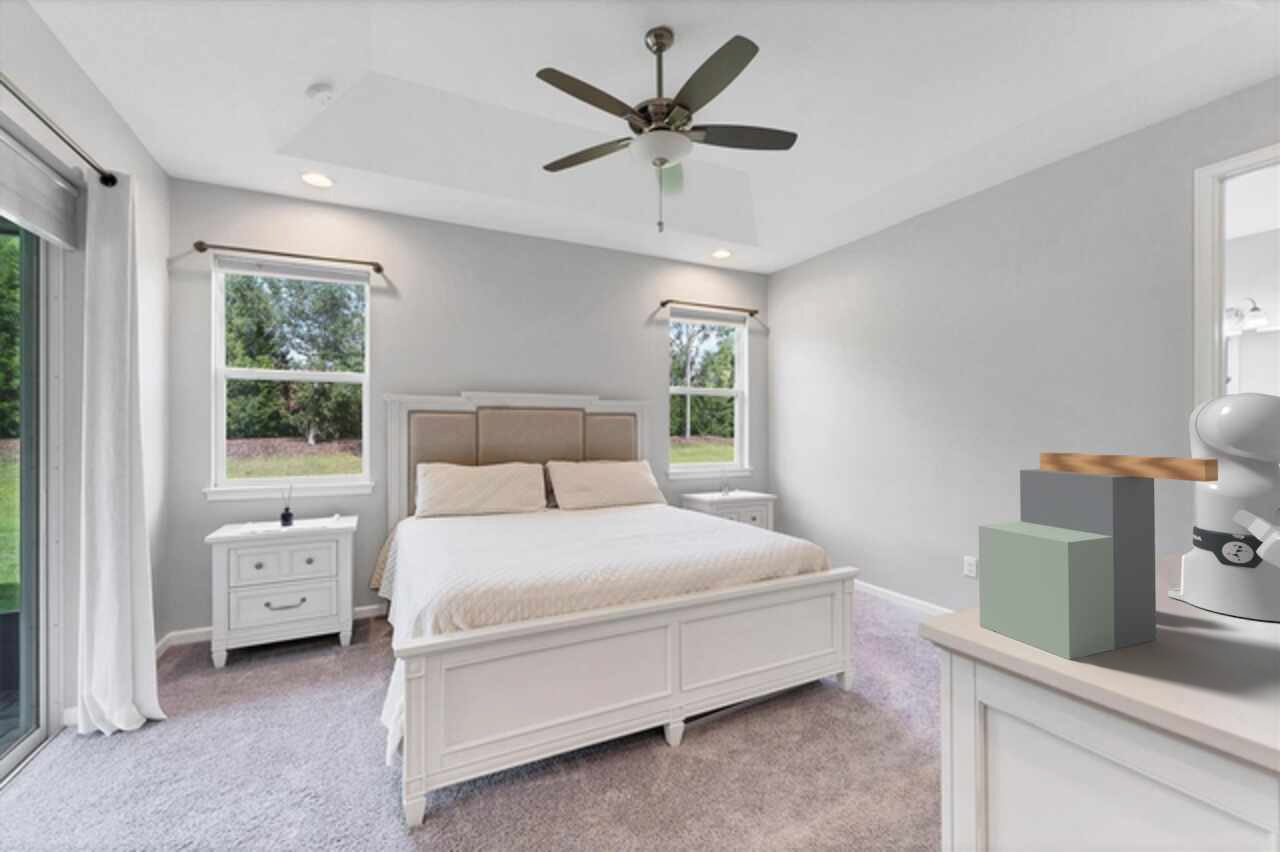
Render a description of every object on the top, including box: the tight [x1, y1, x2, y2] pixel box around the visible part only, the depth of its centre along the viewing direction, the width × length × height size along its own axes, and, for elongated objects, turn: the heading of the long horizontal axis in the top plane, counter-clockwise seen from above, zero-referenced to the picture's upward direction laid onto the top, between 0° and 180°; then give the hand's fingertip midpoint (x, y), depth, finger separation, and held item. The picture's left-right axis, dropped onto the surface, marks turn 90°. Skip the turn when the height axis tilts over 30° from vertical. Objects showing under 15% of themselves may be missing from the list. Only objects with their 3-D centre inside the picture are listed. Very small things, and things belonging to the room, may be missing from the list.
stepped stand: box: [978, 468, 1157, 660], centre depth 88 cm, size 14×20×26 cm
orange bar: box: [1039, 451, 1218, 482], centre depth 85 cm, size 22×3×3 cm, turn 19°
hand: (1260, 511), depth 70 cm, fingers open, 8 cm apart
